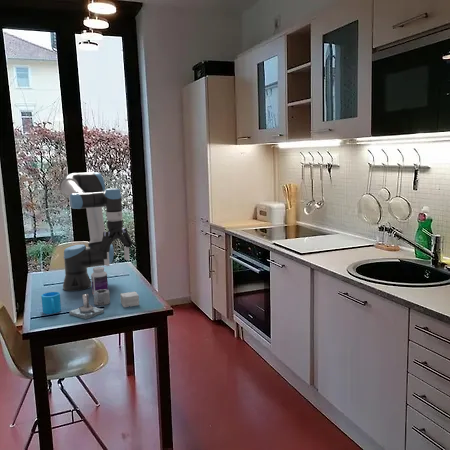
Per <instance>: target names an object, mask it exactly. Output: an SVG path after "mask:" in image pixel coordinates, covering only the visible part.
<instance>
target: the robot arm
mask: <svg viewBox="0 0 450 450" xmlns="http://www.w3.org/2000/svg"><path fill="white" fill-rule="evenodd" d="M59 188H60V191H61V192H62V193H63V194H64V195H66V196H68V198H69V206H70V208H71V209H73V210H76V209H77V210H81V209H86V217H87V222H88V223H87V224H88V231H89V239H90V240H89V241H88V243H87V245H88V246H86V245H85V244H75V245H71V246H69V247H66V248H64V251H63V260H64V274H65V275H64V279H63V283H62V289H63V290H64V291H68V292H76V291H77V292H78V291H83V290H87V289H89V288H92V281H91V277H90V276H89V273H88V268H96V267H104V266H107V267H110V265H111V264H112V263H113V260H114V253H115V251H114V245H113V242H114V241H115V240H117V239H119V240H120V242H121V243H122V244H123V245H124V247H123V254H124V256H123V257H124V260H126V261H130V250H131V249H130V248H131V247H132V246H133V242H132V239H131V237H130V235H129V233H128V228H126V227H124V224H123V223H124V221H123V206H122V205H123V204H122V191H121V189H120V188H117V187H116V188H114V187H111V188H106V183H105V180H104V176H103V175H102V173H100V172H97V171H95V172H93V171H91V172H89V171H88V172H72V173H68V174H66V175H65V176H64V177H63V178H61V180H60V182H59ZM104 207H105V212H106V220H107V221H106V227H107V229H108V231H106V230H105V222H104V215H103V214H104V213H103V208H104Z"/></svg>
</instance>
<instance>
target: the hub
mask: <svg viewBox="0 0 450 450" xmlns="http://www.w3.org/2000/svg"><path fill="white" fill-rule="evenodd" d="M110 299H111V298H110V289H108V290H107V289H100V290H96V291H94V295H93V303H94V305H93V306H106V305H109V304H110V303H111V300H110Z"/></svg>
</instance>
